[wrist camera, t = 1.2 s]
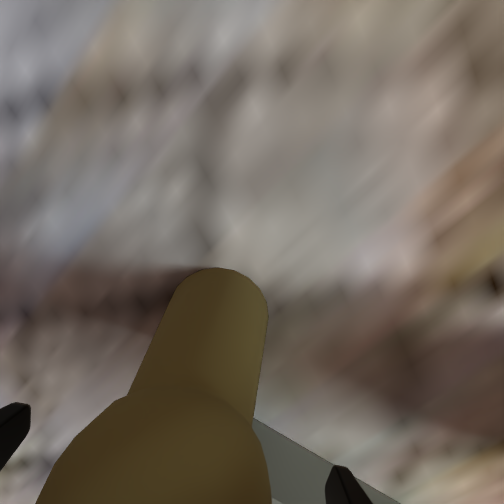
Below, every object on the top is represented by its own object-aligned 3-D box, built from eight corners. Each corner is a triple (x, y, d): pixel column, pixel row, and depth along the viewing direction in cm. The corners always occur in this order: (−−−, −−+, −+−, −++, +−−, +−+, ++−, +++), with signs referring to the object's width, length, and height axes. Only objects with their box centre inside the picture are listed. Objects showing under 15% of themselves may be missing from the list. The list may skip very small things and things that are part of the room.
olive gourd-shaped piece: (280, 344, 15) (340, 703, 4) (189, 368, 16) (49, 744, 5) (251, 255, 14) (242, 458, 3) (153, 283, 14) (-143, 546, 4)
